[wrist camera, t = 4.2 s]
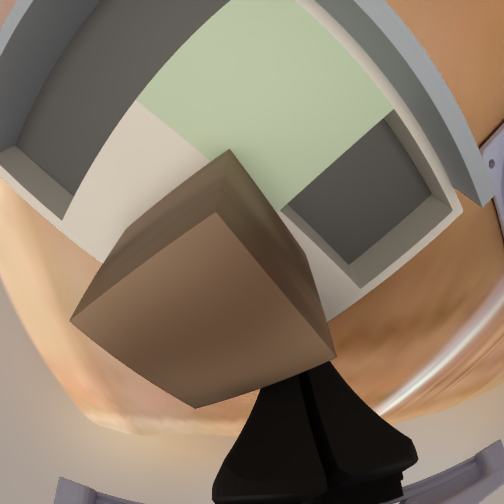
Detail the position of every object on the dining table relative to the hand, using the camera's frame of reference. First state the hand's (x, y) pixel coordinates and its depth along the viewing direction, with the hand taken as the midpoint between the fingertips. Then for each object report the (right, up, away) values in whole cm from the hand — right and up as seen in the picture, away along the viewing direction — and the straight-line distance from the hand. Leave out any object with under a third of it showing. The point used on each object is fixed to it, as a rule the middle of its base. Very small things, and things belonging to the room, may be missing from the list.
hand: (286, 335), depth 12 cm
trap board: (-3, +8, -1) cm, 8 cm away
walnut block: (-3, +4, -1) cm, 5 cm away
